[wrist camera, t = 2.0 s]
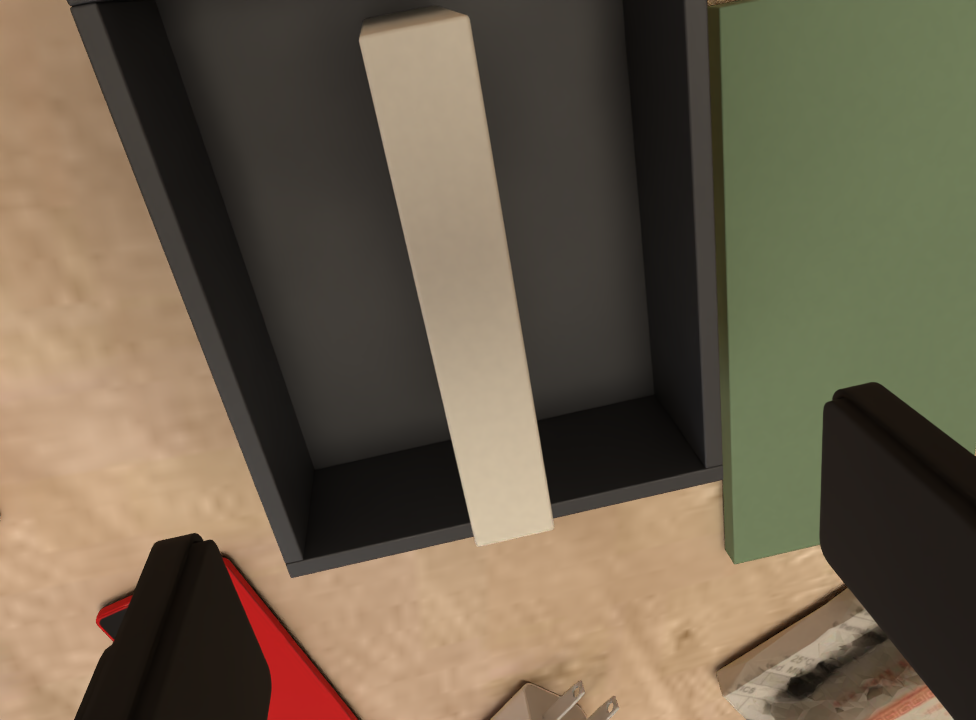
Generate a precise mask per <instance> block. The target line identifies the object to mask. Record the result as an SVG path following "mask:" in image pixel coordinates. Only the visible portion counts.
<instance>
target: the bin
mask: <svg viewBox="0 0 976 720" xmlns="http://www.w3.org/2000/svg"><path fill="white" fill-rule="evenodd" d="M67 2H68V4H69V5H70V6H72V7H71V8H70V10H71V13H72V16H73V18H74V21H75V23H76V26H77V28H78V31H79V34H80V36H81V39H82V41H83V44H84V46H85V49H86V52H87V54H88V57H89V59H90V62H91V64H92V67H93V70H94V72H95V75H96V77H97V80H98V83H99V85H100V88H101V90H102V93H103V95H104V98H105V101H106V103H107V106H108V108H109V111H110V113H111V116H112V119H113V121H114V124H115V126H116V129H117V131H118V134H119V137H120V139H121V142H122V144H123V147H124V149H125V152H126V155H127V157H128V160H129V162H130V165H131V167H132V170H133V173H134V175H135V178H136V180H137V183H138V185H139V188H140V191H141V193H142V196H143V198H144V201H145V203H146V206H147V209H148V211H149V214H150V216H151V219H152V221H153V224H154V227H155V229H156V232H157V234H158V237H159V239H160V242H161V245H162V247H163V250H164V252H165V255H166V257H167V260H168V263H169V265H170V268H171V270H172V273H173V276H174V278H175V281H176V283H177V286H178V288H179V291H180V294H181V296H182V299H183V301H184V304H185V306H186V309H187V312H188V314H189V317H190V319H191V322H192V324H193V327H194V330H195V332H196V335H197V337H198V340H199V342H200V345H201V348H202V350H203V353H204V355H205V358H206V360H207V363H208V366H209V368H210V371H211V373H212V376H213V378H214V381H215V384H216V386H217V389H218V391H219V394H220V396H221V399H222V402H223V404H224V407H225V409H226V412H227V414H228V417H229V420H230V422H231V425H232V427H233V430H234V432H235V435H236V438H237V440H238V443H239V445H240V448H241V450H242V453H243V456H244V458H245V461H246V463H247V466H248V469H249V471H250V474H251V476H252V479H253V481H254V484H255V487H256V489H257V492H258V494H259V497H260V499H261V502H262V505H263V507H264V510H265V512H266V515H267V517H268V520H269V523H270V525H271V528H272V530H273V533H274V535H275V538H276V541H277V543H278V546H279V548H280V551H281V553H282V556H283V559H284V561H285V563H286V566H287V569H288V572H289V574H290V577H291V578H294V577H298V576H303V575H307V574H312V573H316V572H320V571H325V570H329V569H333V568H338V567H342V566H347V565H351V564H355V563H360V562H364V561H369V560H373V559H377V558H382V557H386V556H390V555H395V554H399V553H404V552H408V551H412V550H417V549H421V548H426V547H430V546H434V545H439V544H443V543H448V542H452V541H456V540H461V539H465V538H469V537H474V535H473V531H472V526H471V522H470V518H469V514H468V509H467V505H466V501H465V496H464V492H463V488H462V483H461V479H460V475H459V470H458V466H457V462H456V457H455V453H454V449H453V444H452V440H451V436H450V432H449V427H448V423H447V419H446V414H445V410H444V406H443V401H442V397H441V393H440V388H439V384H438V380H437V375H436V371H435V367H434V363H433V358H432V354H431V350H430V345H429V341H428V337H427V332H426V328H425V324H424V319H423V315H422V311H421V306H420V302H419V298H418V293H417V289H416V285H415V281H414V276H413V272H412V268H411V263H410V259H409V255H408V250H407V246H406V242H405V237H404V233H403V229H402V224H401V220H400V216H399V212H398V207H397V203H396V199H395V194H394V190H393V186H392V181H391V177H390V173H389V168H388V164H387V160H386V155H385V151H384V147H383V142H382V138H381V134H380V130H379V125H378V121H377V117H376V112H375V108H374V104H373V99H372V95H371V91H370V86H369V82H368V78H367V73H366V69H365V65H364V60H363V56H362V52H361V48H360V43H359V37H360V33H361V29H362V24H363V20H365V19H367V18H373V17H378V16H383V15H388V14H393V13H398V12H403V11H408V10H413V9H419V8H424V7H429V6H434V5H435V6H439V7H442V8H445V9H448V10H452V11H455V12H458V13H461V14H464V15H467V16H468V17H469V19H470V23H471V29H472V35H473V41H474V47H475V53H476V59H477V65H478V71H479V77H480V83H481V89H482V95H483V101H484V107H485V113H486V119H487V125H488V131H489V137H490V143H491V149H492V155H493V161H494V167H495V173H496V179H497V185H498V191H499V197H500V203H501V209H502V215H503V221H504V227H505V233H506V239H507V245H508V251H509V257H510V263H511V269H512V275H513V281H514V287H515V293H516V299H517V305H518V311H519V317H520V323H521V329H522V335H523V341H524V347H525V353H526V359H527V365H528V371H529V377H530V383H531V389H532V395H533V401H534V407H535V413H536V419H537V425H538V431H539V437H540V443H541V449H542V455H543V461H544V467H545V473H546V479H547V485H548V491H549V497H550V503H551V509H552V515H553V518H557V517H562V516H566V515H570V514H575V513H579V512H584V511H588V510H592V509H597V508H601V507H606V506H610V505H614V504H619V503H623V502H627V501H632V500H636V499H641V498H645V497H649V496H654V495H658V494H663V493H667V492H671V491H676V490H680V489H685V488H689V487H693V486H698V485H702V484H706V483H711V482H715V481H720V480H723V465H722V464H723V454H722V424H721V394H720V364H719V335H718V305H717V275H716V245H715V215H714V185H713V155H712V126H711V96H710V66H709V36H708V6H707V0H67Z"/></svg>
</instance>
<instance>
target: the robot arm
mask: <svg viewBox="0 0 976 720" xmlns="http://www.w3.org/2000/svg"><path fill="white" fill-rule="evenodd" d="M819 539H820V546H821V549H822V552H823V555H824V557H825V559H826V560H827V562H828V563H829V565H830V566H831V567H832V568H833V570H834V571H835V572H836V573H837V575H838V576H839V577H840V578H841V580H842V581H843V582H844V583H845V584H846V586H847V587H848V588H849V589H850V591H851V592H852V593H853V594H854V596H855V597H856V598H857V599H858V601H859V602H860V603H861V604H862V606H863V607H864V608H865V609H866V611H867V612H868V613H869V614H870V616H871V617H872V618H873V619H874V621H875V622H876V623H877V624H878V626H879V627H880V628H881V629H882V631H883V632H884V633H885V634H886V636H887V637H888V638H889V639H890V641H891V642H892V643H893V644H894V646H895V647H896V648H897V649H898V651H899V652H900V653H901V654H902V656H903V657H904V658H905V659H906V660H907V662H908V663H909V664H910V665H911V667H912V668H913V669H914V670H915V672H916V673H917V674H918V675H919V677H920V678H921V679H922V680H923V682H924V683H925V684H926V685H927V687H928V688H929V689H930V690H931V692H932V693H933V694H934V695H935V697H936V698H937V699H938V700H939V702H940V703H941V704H942V705H943V707H944V708H945V709H946V710H947V712H948V713H949V714H950V715H951V717H952V718H953V719H954V720H976V456H975V455H973V454H972V453H971V452H969V451H968V450H967V449H965V448H964V447H963V446H962V445H960V444H959V443H958V442H956V441H955V440H954V439H952V438H951V437H950V436H948V435H947V434H946V433H944V432H943V431H942V430H940V429H939V428H938V427H937V426H935V425H934V424H933V423H931V422H930V421H929V420H927V419H926V418H925V417H923V416H922V415H921V414H919V413H918V412H917V411H916V410H914V409H913V408H912V407H910V406H909V405H908V404H906V403H905V402H904V401H902V400H901V399H900V398H898V397H897V396H896V395H895V394H893V393H892V392H891V391H889V390H888V389H887V388H885V387H884V386H883V385H881V384H879V383H877V382H869V383H865V384H861V385H856V386H852V387H847V388H843V389H838V390H837V391H835V393H834V395H833V397H832V401H828V402H827V403H825V405H824V408H823V430H822V463H821V497H820V531H819ZM271 691H272V681H271V674H270V669H269V666H268V664H267V661H266V659H265V657H264V654H263V652H262V650H261V647H260V645H259V643H258V640H257V638H256V636H255V633H254V631H253V629H252V626H251V624H250V622H249V619H248V617H247V615H246V612H245V610H244V608H243V605H242V603H241V601H240V598H239V596H238V593H237V591H236V589H235V586H234V584H233V582H232V579H231V577H230V575H229V572H228V570H227V568H226V565H225V563H224V561H223V558H222V556H221V554H220V551H219V549H218V547H217V545H216V543H215V542H214V541H213V540H207V541H203V539H202V537H201V536H200V535H199V534H196V533H193V534H188V535H184V536H179V537H175V538H170V539H166V540H161V541H158V542H156V543H155V544H154V545H153V547H152V549H151V551H150V554H149V556H148V559H147V561H146V564H145V566H144V569H143V571H142V573H141V576H140V578H139V581H138V583H137V586H136V588H135V591H134V593H133V595H132V598H131V600H130V603H129V605H128V608H127V610H126V613H125V615H124V617H123V620H122V622H121V625H120V627H119V630H118V632H117V635H116V637H115V639H114V642H113V644H112V645H111V646H110V647H108V648H107V649H106V650H105V651H104V653H103V654H102V656H101V658H100V659H99V662H98V664H97V666H96V669H95V671H94V674H93V676H92V678H91V681H90V683H89V686H88V688H87V690H86V693H85V695H84V697H83V700H82V702H81V705H80V707H79V709H78V712H77V714H76V717H75V719H74V720H267V719H268V712H269V706H270V699H271Z"/></svg>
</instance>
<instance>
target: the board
mask: <svg viewBox="0 0 976 720" xmlns="http://www.w3.org/2000/svg"><path fill="white" fill-rule="evenodd" d="M359 43H360V48H361V52H362V56H363V60H364V65H365V69H366V73H367V78H368V82H369V86H370V91H371V95H372V99H373V104H374V108H375V112H376V117H377V121H378V125H379V130H380V134H381V138H382V142H383V147H384V151H385V155H386V160H387V164H388V168H389V173H390V177H391V181H392V186H393V190H394V194H395V199H396V203H397V207H398V212H399V216H400V220H401V224H402V229H403V233H404V237H405V242H406V246H407V250H408V255H409V259H410V263H411V268H412V272H413V276H414V281H415V285H416V289H417V293H418V298H419V302H420V306H421V311H422V315H423V319H424V324H425V328H426V332H427V337H428V341H429V345H430V350H431V354H432V358H433V363H434V367H435V371H436V375H437V380H438V384H439V388H440V393H441V397H442V401H443V406H444V410H445V414H446V419H447V423H448V427H449V432H450V436H451V440H452V444H453V449H454V453H455V457H456V462H457V466H458V470H459V475H460V479H461V483H462V488H463V492H464V496H465V501H466V505H467V509H468V514H469V518H470V522H471V526H472V531H473V535H474V539H475V544H476V545H477V546H478V547H480V546H485V545H489V544H494V543H498V542H502V541H507V540H511V539H515V538H520V537H524V536H529V535H533V534H537V533H542V532H546V531H550V530H553V529H554V521H553V515H552V509H551V503H550V497H549V491H548V485H547V479H546V473H545V467H544V461H543V455H542V449H541V443H540V437H539V431H538V425H537V419H536V413H535V407H534V401H533V395H532V389H531V383H530V377H529V371H528V365H527V359H526V353H525V347H524V341H523V335H522V329H521V323H520V317H519V311H518V305H517V299H516V293H515V287H514V281H513V275H512V269H511V263H510V257H509V251H508V245H507V239H506V233H505V227H504V221H503V215H502V209H501V203H500V197H499V191H498V185H497V179H496V173H495V167H494V161H493V155H492V149H491V143H490V137H489V131H488V125H487V119H486V113H485V107H484V101H483V95H482V89H481V83H480V77H479V71H478V65H477V59H476V53H475V47H474V41H473V35H472V29H471V23H470V19H469V17H468V16H467V15H464V14H461V13H458V12H455V11H452V10H448V9H445V8H442V7H439V6H435V5H434V6H429V7H424V8H419V9H413V10H408V11H403V12H398V13H393V14H388V15H383V16H378V17H373V18H367V19H365V20H363V24H362V29H361V33H360V37H359Z"/></svg>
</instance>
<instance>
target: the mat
mask: <svg viewBox="0 0 976 720" xmlns="http://www.w3.org/2000/svg"><path fill="white" fill-rule="evenodd" d="M708 36H709V66H710V96H711V126H712V155H713V185H714V215H715V245H716V275H717V305H718V335H719V364H720V394H721V424H722V454H723V464H722V465H723V499H724V529H725V550H726V552H727V553H728V555H729V556H730V558H731V560H732V561H733V563H734V564H739V563H743V562H747V561H752V560H756V559H760V558H765V557H769V556H773V555H777V554H782V553H786V552H790V551H795V550H799V549H803V548H808V547H812V546H816V545H820V539H819V531H820V497H821V463H822V430H823V408H824V405H825V403H827V402H828V401H832V397H833V395H834V393H835V391H837V390H838V389H843V388H847V387H852V386H856V385H861V384H865V383H869V382H877V383H879V384H881V385H883V386H884V387H885V388H887V389H888V390H889V391H891V392H892V393H893V394H895V395H896V396H897V397H898V398H900V399H901V400H902V401H904V402H905V403H906V404H908V405H909V406H910V407H912V408H913V409H914V410H916V411H917V412H918V413H919V414H921V415H922V416H923V417H925V418H926V419H927V420H929V421H930V422H931V423H933V424H934V425H935V426H937V427H938V428H939V429H940V430H942V431H943V432H944V433H946V434H947V435H948V436H950V437H951V438H952V439H954V440H955V441H956V442H958V443H959V444H960V445H962V446H963V447H964V448H965V449H967V450H968V451H969V452H971V453H972V454H973V455H975V449H976V0H738V1H733V2H728V3H723V4H717V5H712V6H708Z"/></svg>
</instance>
